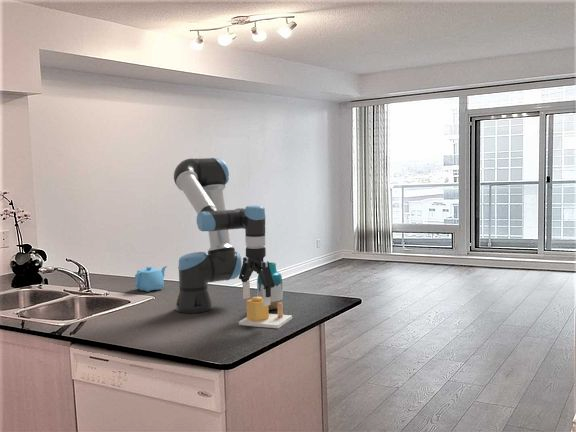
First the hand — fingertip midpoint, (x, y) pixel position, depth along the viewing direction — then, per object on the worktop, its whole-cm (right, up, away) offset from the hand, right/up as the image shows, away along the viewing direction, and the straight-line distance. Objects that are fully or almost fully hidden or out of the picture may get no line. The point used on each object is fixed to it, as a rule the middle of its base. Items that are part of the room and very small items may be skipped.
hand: (256, 301), depth 214 cm
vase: (+5, -6, +19) cm, 20 cm away
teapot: (-55, -4, +63) cm, 84 cm away
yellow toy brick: (0, -6, 0) cm, 6 cm away
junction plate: (+4, -8, 0) cm, 8 cm away
